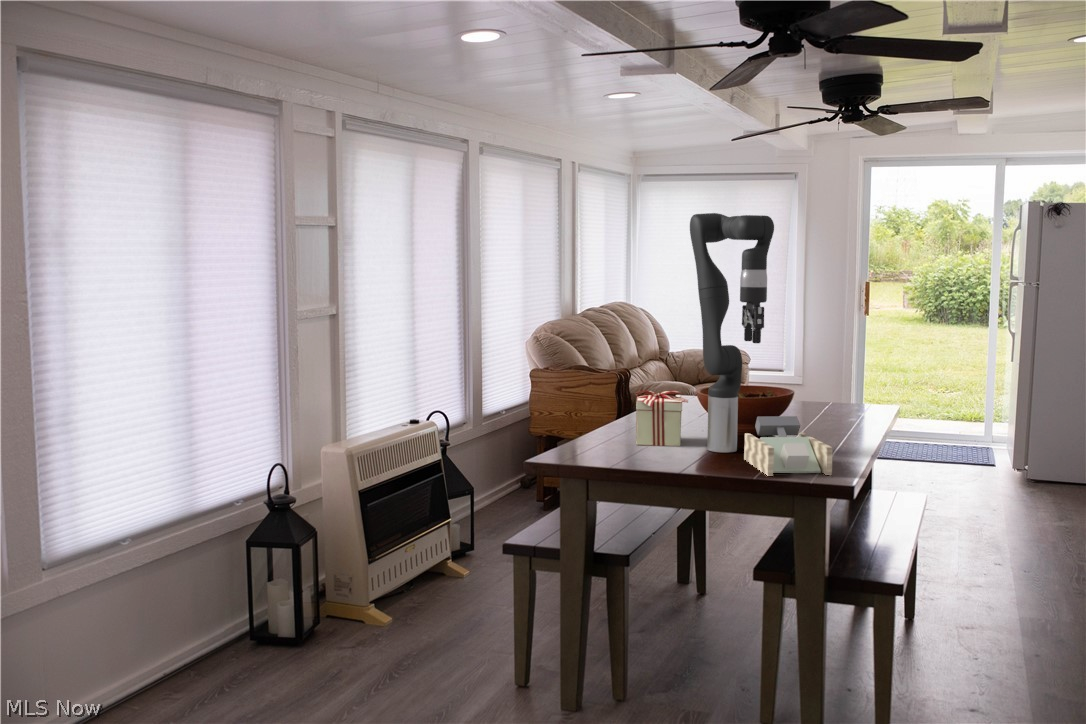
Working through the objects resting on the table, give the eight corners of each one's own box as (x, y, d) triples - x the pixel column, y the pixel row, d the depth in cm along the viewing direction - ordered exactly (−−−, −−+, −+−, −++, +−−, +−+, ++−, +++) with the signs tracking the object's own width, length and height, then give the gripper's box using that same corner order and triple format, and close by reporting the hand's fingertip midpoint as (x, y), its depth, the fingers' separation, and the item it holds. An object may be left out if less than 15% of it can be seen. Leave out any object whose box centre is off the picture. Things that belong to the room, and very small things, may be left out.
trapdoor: (751, 426, 284) (754, 416, 281) (797, 426, 285) (800, 416, 282) (769, 480, 266) (772, 470, 264) (818, 479, 267) (821, 469, 265)
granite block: (780, 456, 269) (783, 443, 266) (801, 456, 269) (804, 443, 266) (784, 468, 265) (788, 455, 262) (805, 468, 265) (809, 455, 262)
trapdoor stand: (744, 459, 285) (744, 433, 284) (802, 459, 286) (803, 432, 285) (767, 476, 261) (768, 448, 260) (831, 476, 262) (832, 447, 261)
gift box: (636, 447, 304) (637, 394, 302) (632, 437, 322) (633, 387, 320) (689, 448, 303) (690, 395, 301) (683, 438, 321) (684, 387, 320)
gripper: (774, 286, 264) (772, 344, 266) (759, 285, 278) (757, 340, 280) (747, 286, 264) (746, 344, 265) (734, 285, 278) (732, 340, 279)
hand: (752, 342), depth 272 cm, fingers open, 8 cm apart
